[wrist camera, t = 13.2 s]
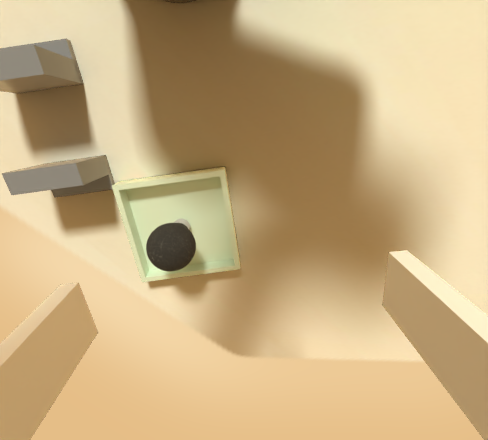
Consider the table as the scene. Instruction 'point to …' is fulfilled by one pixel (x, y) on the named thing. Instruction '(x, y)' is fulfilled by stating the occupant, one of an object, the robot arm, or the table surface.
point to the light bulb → (171, 246)
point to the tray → (181, 207)
